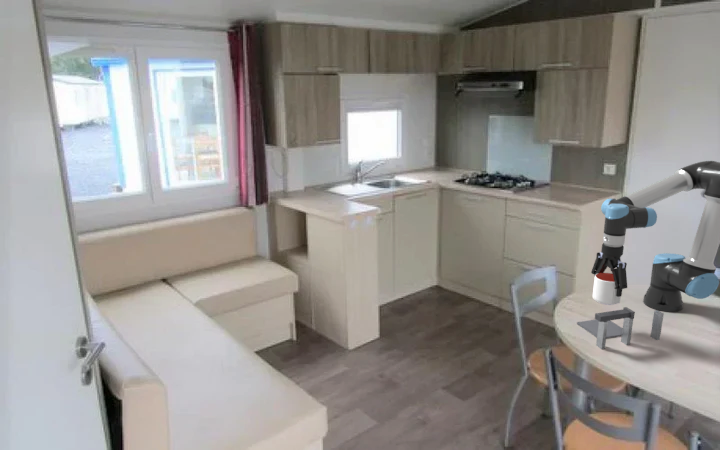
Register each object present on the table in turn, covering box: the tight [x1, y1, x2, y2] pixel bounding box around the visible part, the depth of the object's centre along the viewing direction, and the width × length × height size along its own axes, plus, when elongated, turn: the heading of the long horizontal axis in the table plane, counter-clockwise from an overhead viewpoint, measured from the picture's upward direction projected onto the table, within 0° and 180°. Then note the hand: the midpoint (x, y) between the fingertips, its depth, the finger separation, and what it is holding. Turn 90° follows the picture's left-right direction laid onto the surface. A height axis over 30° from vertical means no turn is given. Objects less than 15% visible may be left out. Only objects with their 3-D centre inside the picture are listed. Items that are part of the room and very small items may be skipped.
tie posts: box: [595, 309, 664, 350], centre depth 198 cm, size 26×3×11 cm, turn 104°
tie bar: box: [594, 306, 636, 322], centre depth 194 cm, size 14×4×3 cm, turn 104°
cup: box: [592, 272, 622, 306], centre depth 206 cm, size 10×10×10 cm
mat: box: [576, 318, 623, 339], centre depth 211 cm, size 14×14×1 cm
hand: (606, 297), depth 207 cm, fingers closed on cup, 10 cm apart
